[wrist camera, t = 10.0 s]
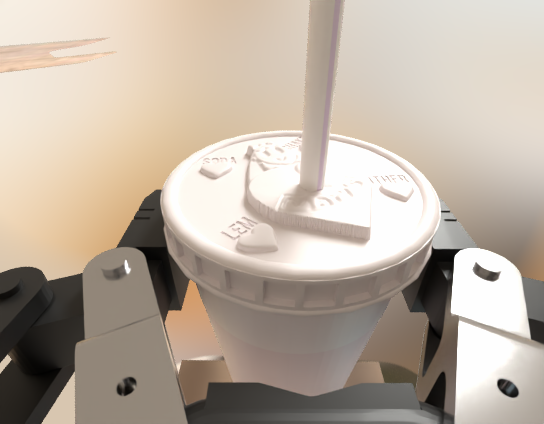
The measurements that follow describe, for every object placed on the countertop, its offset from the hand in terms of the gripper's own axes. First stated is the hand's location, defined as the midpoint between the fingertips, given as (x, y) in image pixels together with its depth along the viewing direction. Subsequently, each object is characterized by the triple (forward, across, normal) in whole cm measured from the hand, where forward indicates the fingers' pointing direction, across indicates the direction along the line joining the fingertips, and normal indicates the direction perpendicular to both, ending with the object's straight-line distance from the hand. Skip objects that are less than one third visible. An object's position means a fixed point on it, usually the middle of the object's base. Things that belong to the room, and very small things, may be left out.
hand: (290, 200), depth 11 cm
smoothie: (-2, 0, +8) cm, 8 cm away
